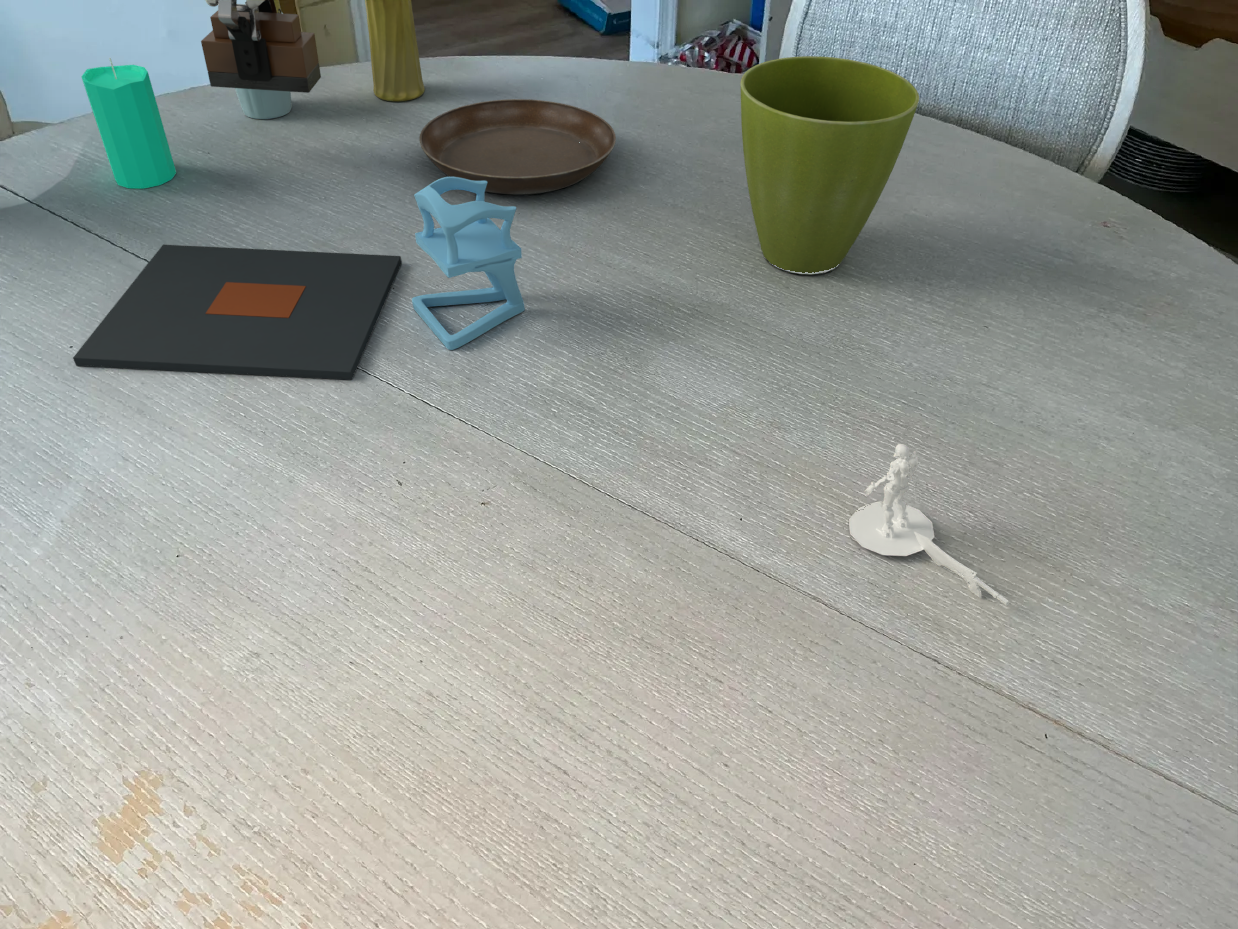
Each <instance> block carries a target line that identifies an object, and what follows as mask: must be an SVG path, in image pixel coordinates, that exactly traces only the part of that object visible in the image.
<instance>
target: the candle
mask: <svg viewBox="0 0 1238 929" xmlns="http://www.w3.org/2000/svg"><path fill="white" fill-rule="evenodd" d="M108 60H109V63H110V65H108V66H97V67H91V68H86V69H85V71H84V72H83V74H82V75H81V80H82V83H83V87H84V89H85V92H86V96H87V98H88V102H89V105H90V107H91V110H92V114H93V116H94V120H95V123H96V126H97V130H98V132H99V135H100V138H101V141H102V144H103V148H104V150H105V153H106V156H107V159H108V162H109V165H110V169H111V172H112V174H113V177H114V178H113V179H114V180H115V183H116V184H117V186H120V187H123V188H126V189H139V190H140V189H141V190H142V189H143V190H144V189H148V188H153V187H159V186H162V185H163V184H166V183H168V182H169V181H171V180H173V179H174V177H175V176H176V174H177V170H176V166H175V163H174V159H173V156H172V152H171V149H170V145H169V142H168V138H167V134H166V131H165V128H164V124H163V121H162V117H161V112H160V110H159V106H158V103H157V99H156V96H155V93H154V89H153V84H152V82H151V78H150V74H149V71H148V69H147V68H146V67H144V66H141V65H137V64H123V65H114V64H113V61H112V57H108Z"/></svg>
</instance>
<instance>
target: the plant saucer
mask: <svg viewBox="0 0 1238 929" xmlns="http://www.w3.org/2000/svg"><path fill="white" fill-rule="evenodd" d="M616 135H617V134H616V132H615V130H614V129H613V127H612V126H611V124H610V123H609V122H608V121H606V120H605V119H604V118H603V117H600V116H599V115H597V114H595V113H593V112H592V111H589V110H588V109H587V110H586V109H584V108H582V107H578V106H574V105H570V104H567V103H566V104H565V103H561V102H555V101H552V100H551V101H549V100H541V99H529V98H528V99H527V98H510V99H509V98H508V99H507V98H506V99H505V98H504V99H493V100H487V101H486V100H485V101H480V102H474V103H470V104H466V105H462V106H459V107H455V108H453V109H450V110H447V111H444V112H442V113H441V114H439V115H437V116H435V117H434V118H432V119H431V120H429V121H428V122H427V123H426V124H425V125H424V127H423V128H422V129H421V131H420V134H419V137H418V139H419V145H420V147H421V149H422V151H423V152H424V154H425V155H426V156H427V158H428V159H429V160H430V161H431V163H432V164H433V165H434V166H435V167H436V168H438V169H439V171H441V172H443V173H444V174H445V175H446V176H447V177H459V178H464V179H468V180H474V181H487V186H486V189H485V192H488V193H492V194H493V193H494V194H502V195H534V194H535V195H536V194H542V193H549V192H554V191H557V190H561V189H564V188H567V187H570V186H572V185H574V184H577V183H579V182H581V181H582V180H585V179H586V178H587V177H589V176H590V175H591V174H593V173H594V172H595V171H596V170H598V168H600V166H602V164H603V163H604V162H605V161H606V160H607V158H608V157H609V156H610V154H611V153H612V151H613V149H614V147H615V145H616V142H617V136H616ZM579 142H580V143H579Z"/></svg>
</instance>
